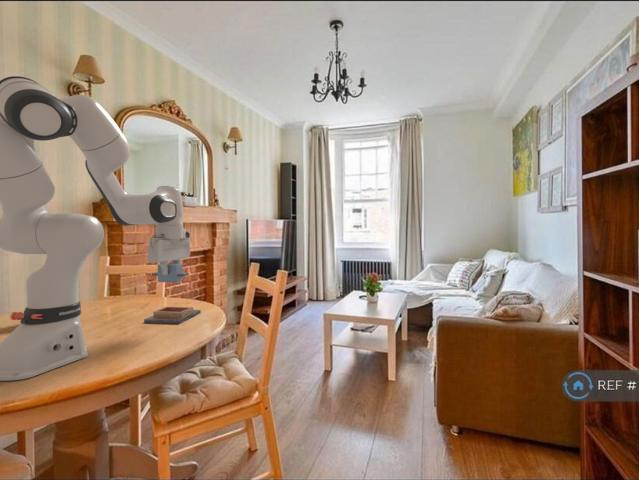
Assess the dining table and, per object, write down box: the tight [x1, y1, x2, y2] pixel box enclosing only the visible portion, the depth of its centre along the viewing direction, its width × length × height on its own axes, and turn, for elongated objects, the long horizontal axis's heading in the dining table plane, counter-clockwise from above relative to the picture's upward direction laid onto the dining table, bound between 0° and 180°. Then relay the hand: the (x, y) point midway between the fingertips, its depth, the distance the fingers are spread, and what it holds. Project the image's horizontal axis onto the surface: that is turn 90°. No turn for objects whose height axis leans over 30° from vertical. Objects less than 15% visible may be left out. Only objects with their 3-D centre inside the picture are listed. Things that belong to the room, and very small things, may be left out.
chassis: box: [143, 306, 201, 325], centre depth 131 cm, size 16×14×3 cm
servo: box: [151, 263, 190, 284], centre depth 117 cm, size 4×12×6 cm, turn 82°
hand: (170, 273), depth 117 cm, fingers closed on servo, 4 cm apart
